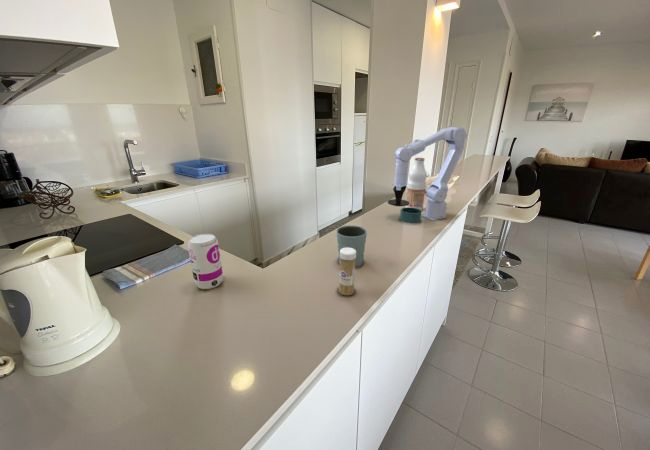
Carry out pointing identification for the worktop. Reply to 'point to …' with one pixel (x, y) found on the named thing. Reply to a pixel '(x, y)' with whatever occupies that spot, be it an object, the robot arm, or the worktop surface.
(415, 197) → the fruit juice
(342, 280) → the sprinkles bottle
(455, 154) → the robot arm
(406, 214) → the pot
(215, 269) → the supplement can
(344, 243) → the grey green cup
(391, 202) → the lid
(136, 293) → the worktop surface
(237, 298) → the worktop surface
